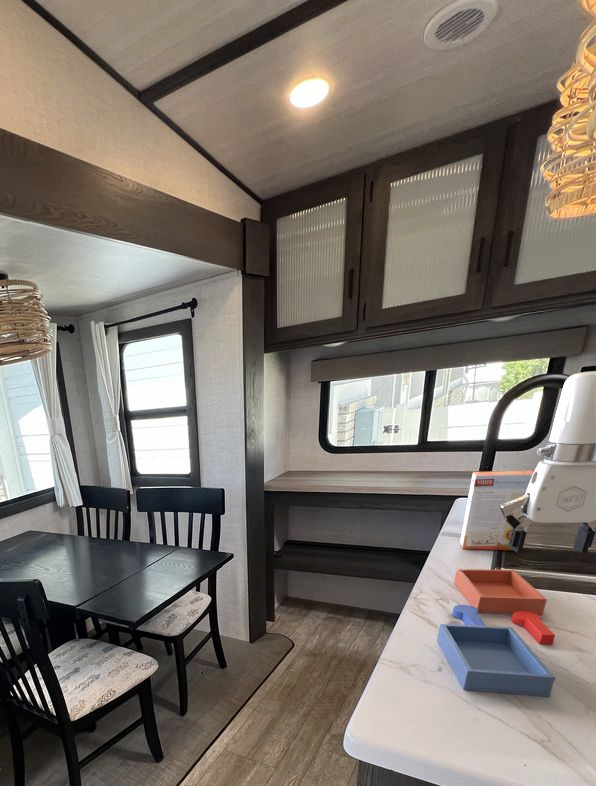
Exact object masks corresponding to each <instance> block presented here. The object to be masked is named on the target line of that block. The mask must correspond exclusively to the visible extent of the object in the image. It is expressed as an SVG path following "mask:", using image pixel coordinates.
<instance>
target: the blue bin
mask: <svg viewBox="0 0 596 786" xmlns="http://www.w3.org/2000/svg"><path fill="white" fill-rule="evenodd" d="M437 632H438V633H437V638H436V641H437V643H438V645H439V647H440V648H441V651H442V652H443V655H444V656H445V658H446V660H447V662H448V664H449V665H450V668H451V669H452V671H453V672H454V675H455V676H456V678H457V680H458V683H459V684H460V686H461V688H462V690H463V691H473V692H485V693H499V694H511V695H521V696H522V695H524V696H532V697H533V696H535V697H546V698H550V696H551V693H552V689H553V687H554V683H555V680H556V676H555V675H554V674H553V673H552V671H551V670H549V668H548V667H547V666H546V665H545V663H544V662H543V661H542V660H541V658H539V657H538V655H537V654H536V653H535V652H534V651H533V650H532V648H531V647H530V646H529V645H528V644H527V642H525V640H524V639H523V638H522V637H521V636H520V634H518V632H517V631H516V630H515V629H514V628H513V627H512V626H497V625H486V626H476V625H466V624H454V623H453V624H452V623H451V624H450V623H439V628H438V631H437Z"/></svg>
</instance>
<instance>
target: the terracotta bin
mask: <svg viewBox="0 0 596 786" xmlns="http://www.w3.org/2000/svg"><path fill="white" fill-rule="evenodd" d="M453 583H454V585H455V586H456V588H458V590H459V591H460V592H461V594H462V595H463V596H464V598H465V599H466V600H467V602H468V603H469V604H470V606H473V607H475V608H477V609H478V611H479V612H478V614H479V613H480V614H505V615H506V614H507V615H508V614H509V615H513V613H514V612H516V611H527V612H532V613H535V614H537V615H539V616H543V615H544V611H545V608H546V604H547V601H548V600H547V598H546V597H545V596H544V595H543V594H542V593H541V592H540V591H538V589H536V588H535V587H534V586H533V585H531V584H530V583H529V582H528V581H527V580H526V579H525V578H524V577H522V575H520V574H519V573H518V572H517V571H515V569H487V568H485V569H483V568H482V569H481V568H478V569H477V568H475V569H474V568H457V569H456V571H455V576H454V581H453Z"/></svg>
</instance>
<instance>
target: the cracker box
mask: <svg viewBox="0 0 596 786" xmlns="http://www.w3.org/2000/svg"><path fill="white" fill-rule="evenodd" d="M534 471H535V470H505V471H501V470H498V471H497V470H496V471H473V472H472V474H471V480H470V486H469V490H468V496H467V502H466V508H465V513H464V519H463V523H462V524H463V525H462V530H461V534H460V541H459V544H460V546H461V548H462V549H463V550H464V549H465V550H491V551H514V550H512V549H511V546H509V541H510V537H511V533H512V529H513V528H512V527H511V526H510V525H509V524H508V523H507V522H506V521H505V519H504V516H503V514H502V512H501V509H500V506H501V505H503V504H505V503H508V502H510V501H512V500H515V499H517V498H520V497H522V496H525V493H526V490H527V488H528V485H529V482H530V480H531V478H532V475H533V473H534ZM521 507H522V506H521ZM521 507H518V508H516V509H514V510H513V515H514V517H515V518H518V517H519V516H520V515H521ZM528 527H529V526H528ZM528 527H527V528H525V529H524V531H525V532H526V533H527V532H528ZM514 552H515V551H514Z"/></svg>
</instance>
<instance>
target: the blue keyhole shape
mask: <svg viewBox="0 0 596 786" xmlns="http://www.w3.org/2000/svg"><path fill="white" fill-rule="evenodd" d="M478 612H479V611H478V609H477V608H475V607H473V606H471V605H469V604H468V605H467V604H455V605H454V606H453V608H452V612H451V614H452V616H453V617H455V618H456V619H459V620H462V622H463V624H464V625H476V626H487V625H486V624H485V623H484V621H483V620H482V618H481V617H480V615H479V613H478Z"/></svg>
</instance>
